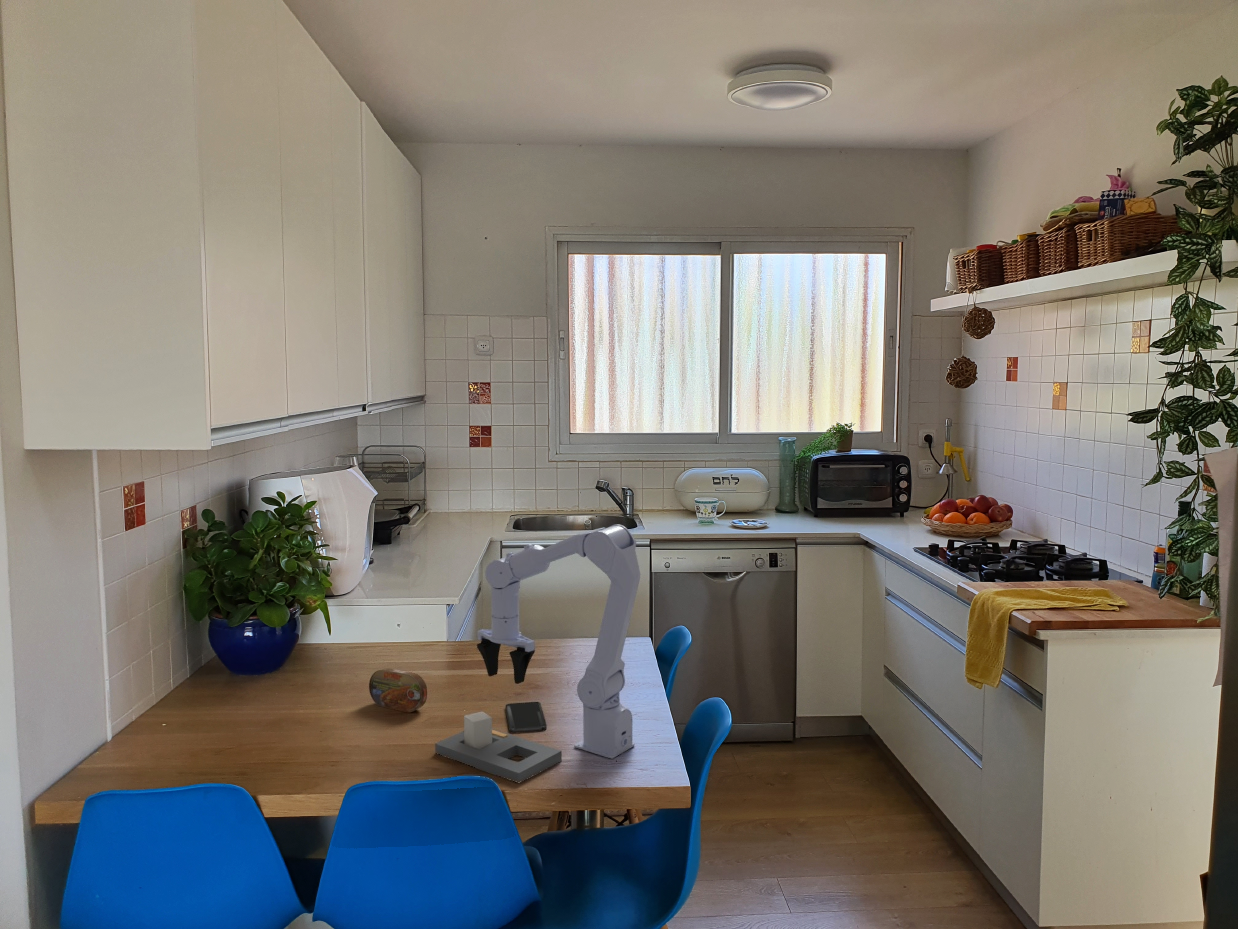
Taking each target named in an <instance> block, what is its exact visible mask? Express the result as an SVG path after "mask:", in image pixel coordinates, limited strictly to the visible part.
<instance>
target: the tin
mask: <svg viewBox="0 0 1238 929" xmlns="http://www.w3.org/2000/svg"><path fill="white" fill-rule="evenodd" d="M427 688H428V687H427V683H426V681H425V680H424V678H423V677H422V676H421V675H419V674H418V673H416V672H413V671H412V672H410V671H404V670H399V669H396V668H395V669H393V668H384V669H378V670H376V671H374V673H372V674H371V676H370V678H369V682H368V690H369V694H370V697H371V698H372V699H371V700H372V701H373V702H374V703H375V704H376V705H377V706H379V707H380V706H383V707H382V708H384V707H386V708H385V709H389V708H390V709H389V710H394V709H395V710H394V711H399V712H404V713H413V712H415V711H416V710H419V709H421V708H423V706H424V705H425V704H426V702H427V698H428V689H427Z"/></svg>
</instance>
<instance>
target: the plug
mask: <svg viewBox="0 0 1238 929" xmlns="http://www.w3.org/2000/svg"><path fill="white" fill-rule="evenodd" d="M463 722H464V723H463V724H464V725H463V727H464V728H463V730H464V744H465V745H468V746H471V747H474V748H477V749H481V748H483V747H485V746H487V745H489V744H491V743H492V729H493V717H492V716H490V715H489V714H487V713H485V712H484V711H478V712H476V713H475V712H474V713H469V714H466V715H464V716H463Z"/></svg>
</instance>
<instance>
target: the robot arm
mask: <svg viewBox="0 0 1238 929" xmlns="http://www.w3.org/2000/svg"><path fill="white" fill-rule="evenodd" d="M636 547H637V540H636V539H635V538H634V536H633V534H632V533H631V532H630V530H629V529H628V528H627V527H626V526H624V525H622V524H617V523H616V524H612V525H609V526H608V527H599V528H595V529H593V530H592V529H591V530H588V531H583V532H581V533H577V534H574V535H572V536H570V537H567V538H565V539H563V540H560V541H557V542H556V543H554V544H552V545H549V546H547V547H544V546H542V545H539V544H534V545H533V543H529V544H527V545H526V544H525V545H524V546H523V549H522V550H519V551H517V552H513V551H511V552H508V553H506V554H505V557H502V558H498V559H494V560H492V561H491V562H490V563H489V564H487V566H486V568H485V572H484V574H485V579H486V581H487V583H488V584H489V585H490V600H491V601H490V603H491V604H490V607H491V609H490V613H491V614H490V615H491V617H490V618H491V629H487V628H486V629H484V628H482V629H480V630H477V636H476V637H477V640H478V641H480V642H479V643H477V644H476V648H477V650H478V651H479V653H480V655H481V657H482V660H483V662H484V664H485V669H486V672H487V675H488V677H494V676H495V675H498V671H499V656H500V650H501V646H507V647H512V648H515V650H512V651H509V656H510V660H511V662H512V666H513V667H512V668H513V680H514V683H515V684H516V685H518V684H521V683H524V682H525V679H526V674H527V670H528V667H529V664H530V661H531V660H532V657H533V656H534V655H535V652H536V644H535V643H536V642H535V640H534V639H533V640H532V639H530V638H528V637H526V636H524V635H522V632H521V631H520V588H521V587H520V585H521V584H520V583H521V581H523V580H526V579H529V578H532V577H534V576H537V575H539V574H541V573H542V574H543V573H545V572H546V571H548V569H549V567H550V564H551V563H552V562H556V561H557V560H561V559H563V558H567V557H569V556H571V555H575V554H578V555H579V557H582V558H586V557H587V559H588V560H589V561H590V562H591V563H592V564H593V565H595V566H596V567H597V568H598V569H599V570H601V571H602V572H603V573H604V574H605V575H606V576H607V578H608V579H609V580H610V586H609V590H608V594H607V598H606V602H605V607H604V611H603V615H602V620H601V624H600V629H599V632H598V638H597V641H596V646H595V649H594V655H593V657H592V658H591V660H590V661H589V663H588V665H587V666H586V668H585V671H584V674H583V677H582V678H581V679H580V680H579V681H578V682H577V683H578V684H577V686H576V692H577V696H578V698H579V701H581V703H582V707H583V710H582V711H583V714H582V715H583V717H582V719H583V728H582V729H583V730H582V731H583V733H582V734H583V738H582V740H580V741H578V742H576V743H574V744H573V747H574V748H576V749H579V750H582V751H586V752H589V753H592V754H595V755H597V756H602V757H605V758H607V759H614V758H615V757H617V756H618V755H620V754H622V753H624V752H626V751H628V750H630V749H632V747H635V746H636V744H635V742H633V714H632V711H631V710H630V709H628V708H626V707H624V706H623V705H622V704H621V702H620V692H621V691H622V690H623V689H624V686H625V685H626V678H625V671H624V670H625V666H626V663H625V661H623V660H622V655H623V652H624V646H625V643H626V640H627V634H628V630H629V627H630V622H631V618H632V614H633V609H634V606H635V605H634V604H635V601H636V597H637V593H638V590H639V584H640V581H641V571H640V565H639V561H638V555H637V551H636Z"/></svg>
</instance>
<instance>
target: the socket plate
mask: <svg viewBox="0 0 1238 929" xmlns="http://www.w3.org/2000/svg"><path fill="white" fill-rule="evenodd" d="M434 749H435V751H434V753H438V754H440V755H439V756H441V755H442V756H441V757H444V756H446V757H449V758H451V759H450V760H452V759H454V760H453V761H455V760H457V761H460V762H462V763H461V764H463V763H465V764H464V765H466V764H467V765H466V766H468V765H470V766H469V767H471V766H473V767H472V768H474V767H475V768H474V769H478V770H480V771H483V772H485V773H488V774H491V775H494V776H496V775H498V776H497V777H499V776H501V777H500V778H502V777H505V778H508V779H511V780H514V781H517V782H520V781H523V780H525V779H527V778H529V777H531V776H532V775H534V776H536V775H538V774H540V773H541V772H540V771H542V772H544V771H546V770H547V769H549V768H551V767H553V766H554V764H555V765H557V764H558V762H559V763H560V762H562V760H563V759H562V756H563V755H562V754H563V753H562V750H560V749H557V748H555V747H551V746H548V745H544V744H543V743H538V742H536V741H533V740H530V739H525V738H523V737H520V736H517V735H514V734H511V733H507V732H504V731H501V730H498V729H495V728H492V743H491V744H489V745H487V746H485V747H483V748H481V749H477V748H474V747H471V746H468V745H465V744H464V731H461V732H459V733H457V734H454V735H452V736H449V737H447V738H444V739H443V740H440V741H438V742H435V743H434ZM438 754H437V755H438ZM516 754H517V755H516ZM514 755H515V756H518V755H520V756H523V757H526V758H523V757H522V758H523V759H522V760H520V761H515V760H512V759H511V758H513V757H515V756H514ZM512 756H513V757H512ZM520 756H519V757H520ZM446 757H445V758H446ZM510 757H511V758H510ZM449 758H448V759H449ZM508 758H509V759H508ZM457 761H456V762H457ZM460 762H459V763H460ZM556 763H557V764H556ZM548 767H549V768H548ZM546 768H547V769H546ZM545 769H546V770H545ZM543 770H544V771H543ZM539 772H540V773H539ZM537 773H538V774H537ZM535 774H536V775H535ZM531 778H532V777H531ZM529 779H530V778H529ZM527 780H528V779H527ZM525 781H526V780H525ZM523 782H524V781H523Z"/></svg>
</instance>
